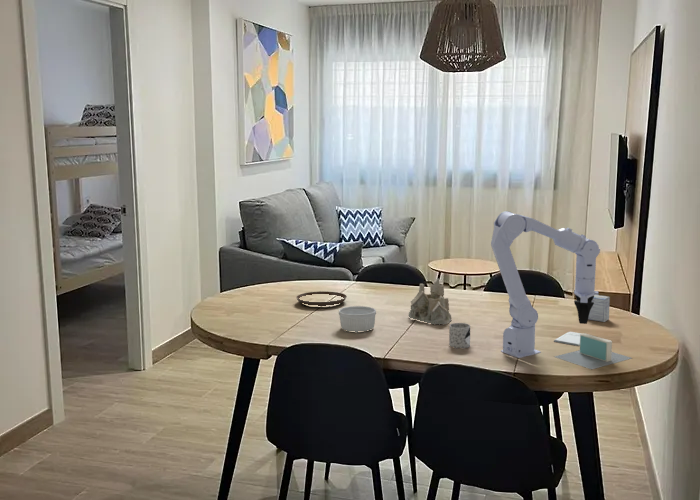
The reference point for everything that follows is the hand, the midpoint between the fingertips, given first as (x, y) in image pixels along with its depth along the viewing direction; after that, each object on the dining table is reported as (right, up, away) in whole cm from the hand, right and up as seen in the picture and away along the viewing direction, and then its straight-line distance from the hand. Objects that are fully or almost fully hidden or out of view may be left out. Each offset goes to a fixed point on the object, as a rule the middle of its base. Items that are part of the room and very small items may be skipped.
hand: (583, 320), depth 212 cm
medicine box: (+17, -4, +37) cm, 41 cm away
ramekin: (-70, -6, +30) cm, 76 cm away
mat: (+1, -11, -7) cm, 13 cm away
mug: (-37, -9, +10) cm, 39 cm away
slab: (+1, -10, -6) cm, 12 cm away
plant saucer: (-84, -1, +69) cm, 109 cm away
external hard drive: (+1, -9, +12) cm, 15 cm away
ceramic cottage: (-43, -4, +41) cm, 60 cm away
